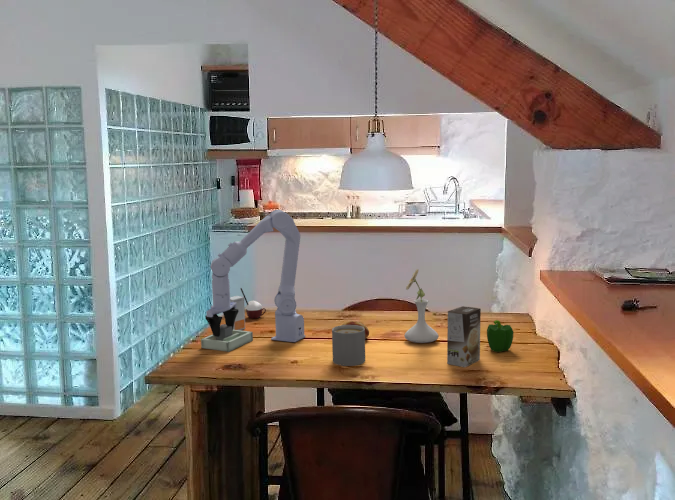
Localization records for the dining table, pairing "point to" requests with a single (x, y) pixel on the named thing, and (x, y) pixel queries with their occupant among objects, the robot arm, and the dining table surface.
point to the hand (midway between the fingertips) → (223, 333)
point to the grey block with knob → (224, 332)
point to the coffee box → (463, 336)
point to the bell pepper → (499, 336)
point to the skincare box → (239, 313)
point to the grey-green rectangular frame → (227, 341)
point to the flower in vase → (420, 319)
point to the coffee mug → (348, 345)
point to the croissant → (358, 325)
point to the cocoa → (253, 308)
